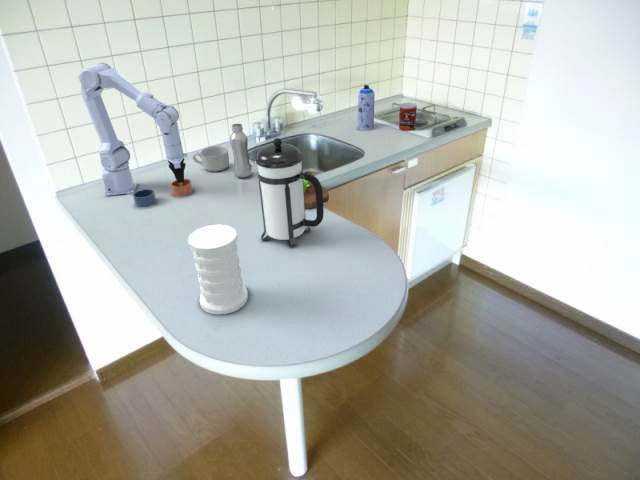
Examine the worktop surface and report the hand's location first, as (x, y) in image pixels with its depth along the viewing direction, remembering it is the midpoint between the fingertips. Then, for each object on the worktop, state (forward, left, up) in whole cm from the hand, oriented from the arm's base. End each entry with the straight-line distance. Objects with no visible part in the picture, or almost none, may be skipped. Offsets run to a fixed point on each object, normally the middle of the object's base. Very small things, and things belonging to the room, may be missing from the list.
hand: (180, 180), depth 166 cm
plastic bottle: (+22, +10, -5) cm, 25 cm away
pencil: (0, 0, -4) cm, 4 cm away
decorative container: (+16, -66, -5) cm, 68 cm away
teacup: (+10, +20, -5) cm, 23 cm away
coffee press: (+35, -39, -5) cm, 53 cm away
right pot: (0, 0, -5) cm, 5 cm away
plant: (+40, -14, -5) cm, 43 cm away
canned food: (+100, +48, -5) cm, 111 cm away
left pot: (-12, -6, -5) cm, 14 cm away
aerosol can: (+81, +54, -5) cm, 97 cm away
